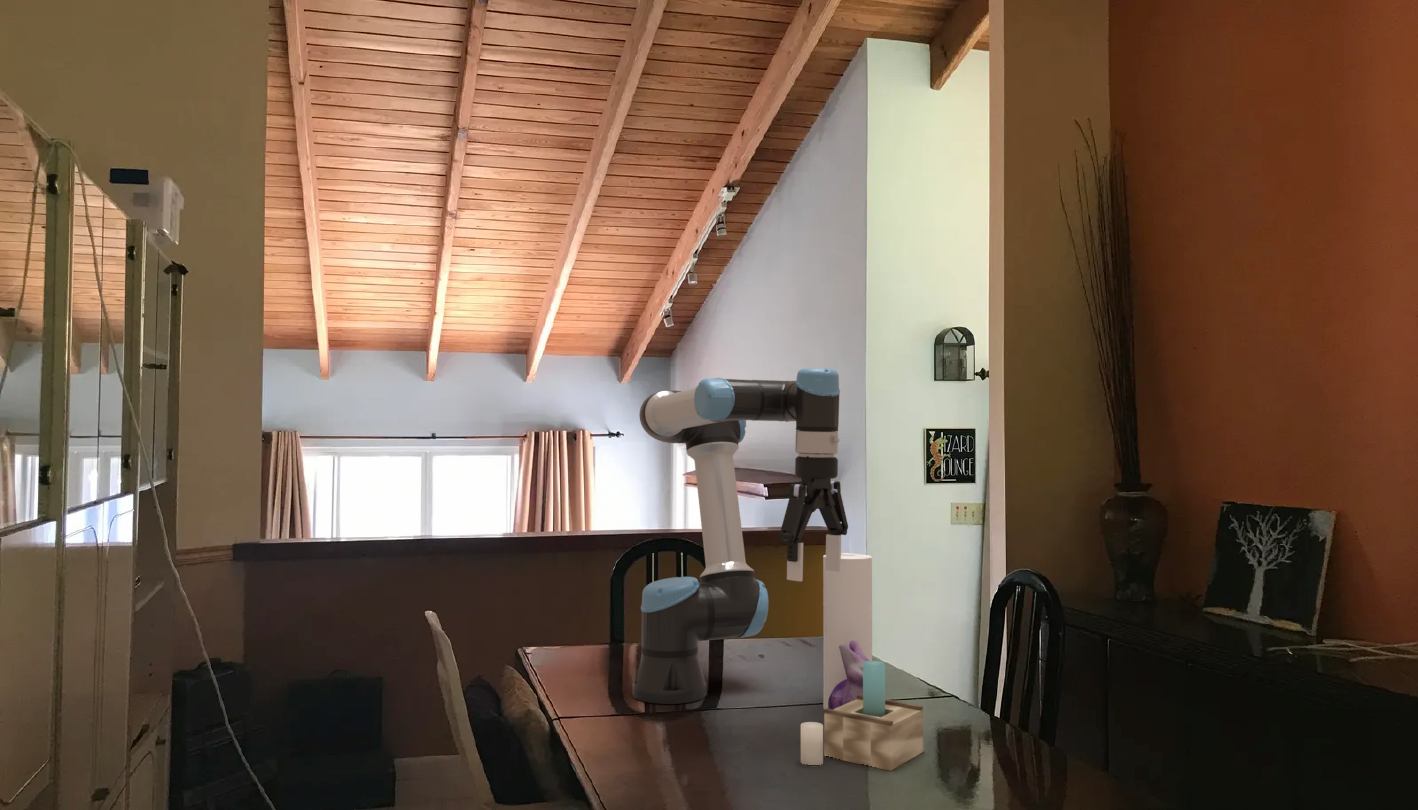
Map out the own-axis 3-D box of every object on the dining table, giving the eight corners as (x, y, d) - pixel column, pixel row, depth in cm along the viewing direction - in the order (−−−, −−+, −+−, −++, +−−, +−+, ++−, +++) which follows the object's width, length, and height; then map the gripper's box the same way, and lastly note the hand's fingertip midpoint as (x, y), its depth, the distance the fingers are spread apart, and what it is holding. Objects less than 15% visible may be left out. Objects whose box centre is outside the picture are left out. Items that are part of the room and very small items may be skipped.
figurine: (878, 733, 174) (878, 648, 175) (822, 727, 178) (822, 644, 179) (887, 719, 183) (887, 638, 184) (834, 714, 187) (834, 634, 187)
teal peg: (859, 754, 162) (859, 663, 163) (869, 749, 165) (869, 659, 166) (879, 759, 160) (878, 666, 161) (889, 753, 163) (888, 662, 164)
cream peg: (796, 763, 158) (796, 725, 158) (808, 757, 161) (808, 720, 161) (815, 767, 156) (815, 729, 156) (827, 762, 159) (827, 724, 159)
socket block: (824, 756, 162) (824, 709, 162) (859, 738, 171) (859, 694, 172) (890, 770, 154) (890, 722, 155) (923, 751, 164) (922, 705, 164)
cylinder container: (871, 716, 185) (870, 556, 186) (821, 713, 187) (821, 555, 188) (873, 704, 194) (872, 551, 195) (825, 701, 196) (825, 550, 197)
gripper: (798, 458, 162) (796, 587, 162) (867, 454, 182) (865, 569, 182) (760, 456, 166) (758, 582, 166) (832, 453, 186) (830, 564, 186)
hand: (814, 575), depth 174 cm, fingers open, 13 cm apart
